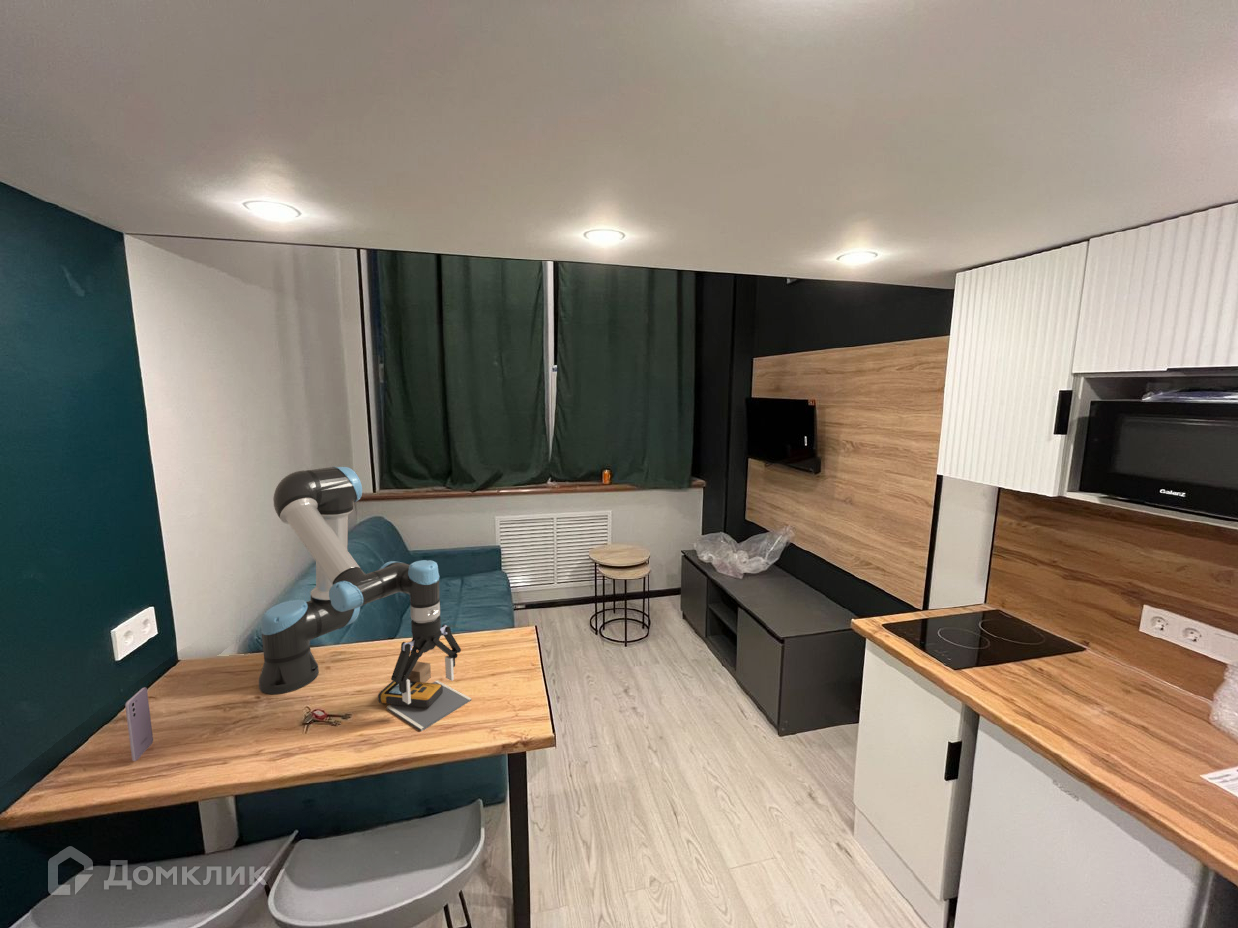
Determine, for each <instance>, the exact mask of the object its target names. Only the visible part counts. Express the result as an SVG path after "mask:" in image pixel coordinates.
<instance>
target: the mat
mask: <svg viewBox="0 0 1238 928" xmlns="http://www.w3.org/2000/svg"><path fill="white" fill-rule="evenodd" d="M432 683H433V684H441V685H442V687H443V693H442V694H441V695H440V696H439V698H438V699H437V700H436V701H435V702H434V703H433V704H432V705H431V706H430V707H428V708H421V707H412V706H403V705H393V704H388V705H387V706H386V710H387V711H389V712H391V714H393V715H395V716H397V717H398V718H399V719H401V720H403V721H404V722H406V723H407V724H409V725H411V726H412V727H413V728H415V729H417V730H418V731H419V732H423V731H425V730H426V729H428V728H429V727H431V726H432V725H434V724H436V723H437V722H439V721H440V720H442V719H444V718H446V717H447V716H449V715H451V714H452V713H453V712H455V711H457V710H458V709H460V708H462V707H463V706H465V705H466V704H468V703H470V702H471V701H472V698H471V697H470V696H468V695H466V694H464V693H461V692H460V691H458V690H456V689H454V688H453V687H451V686H449V685H448V684H445V683H443V682H441V681H440V680H435V681H433V682H432Z"/></svg>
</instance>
